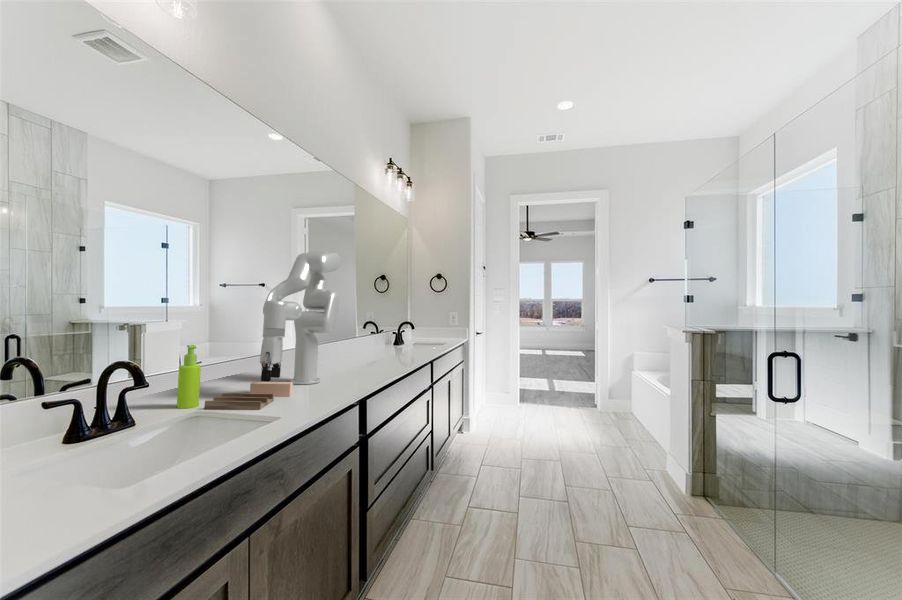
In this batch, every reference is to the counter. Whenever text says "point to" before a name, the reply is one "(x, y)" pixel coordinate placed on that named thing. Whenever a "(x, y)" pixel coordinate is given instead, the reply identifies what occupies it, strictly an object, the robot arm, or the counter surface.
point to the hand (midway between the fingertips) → (270, 379)
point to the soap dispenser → (189, 381)
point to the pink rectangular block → (272, 388)
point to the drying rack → (240, 401)
